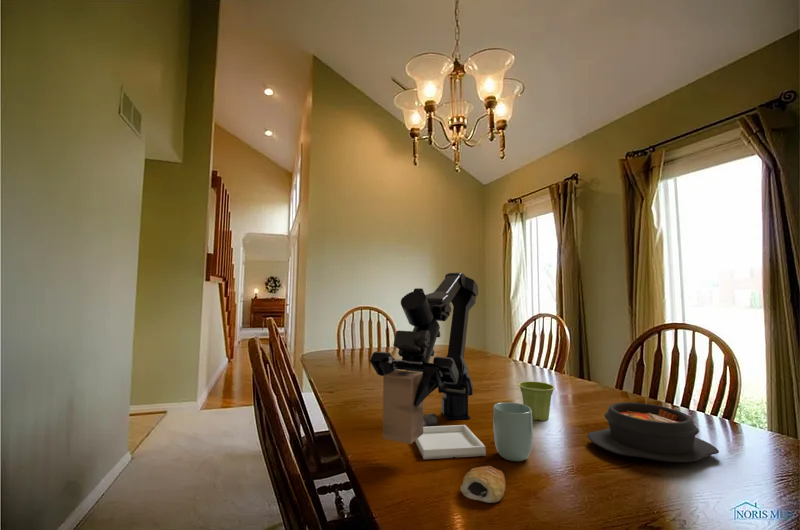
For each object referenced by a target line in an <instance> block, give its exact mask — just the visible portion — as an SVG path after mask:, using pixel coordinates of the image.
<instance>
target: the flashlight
mask: <svg viewBox="0 0 800 530" xmlns="http://www.w3.org/2000/svg"><path fill="white" fill-rule="evenodd" d="M437 424H438V418H437V415H436V414H435V413H434V412H433V413H427V414H423V427H428V426H437Z"/></svg>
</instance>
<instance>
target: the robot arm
mask: <svg viewBox="0 0 800 530" xmlns="http://www.w3.org/2000/svg"><path fill="white" fill-rule="evenodd" d="M478 295H479V286H478V283H476V280H474V279H472V278H470V277H468V276H466V275H465V274H464V273H462V272H447V273H446V274H445V277H444V279H443V280H442V282H441V283H440V284H439V285H438V286H437V288H436V289H435V290H434V292H431V293H428V294H425V291H424V289H423V288H421V287H420V288H418V287H417V288H414V289H413V291H411V292H409V293H406V294H405V295H404V296H403V297H402V298H401V299H400V305H401V308H402V310H403V313H404V314H405V317H406V320H407V322H408V324H409V325H410V326H412V327H413V329H412V330H411V331H410V330H396V331H395V335H394V340H393V345H392V346H393V347H394V348H397V349H398V352H397V353H398V356H399V357H401V359H397V358H396V359H395V358H394V357H393V355H392V354H391V352H389V351H387V352H386V351H373V352H372V354H371V355H370V359H369V362H370V364H371V366H372V368H373V370H374V371H375V372H376V374H377V375H378V376H381V377H383V376H384V375H386V374H389V373H391V372H394V371H396V370H401V371H410V372H419V373H423V377H422V380H421V383H420V385H419V388H418V391H417V394H416V396H415V401H414V405H415V407H417V406H418V405H419V404H420V403H421V402H422V401H423V402H424V400H425V399H426V398H428V397H429V395H430V394H431V393H433V392H434V391H435V390H436V389H438V393H439V394H441V393H442V394H443V395H442V396H443V397H441V413H442V414H443V416H444V417H445V418H446V419H447V420H464V419H466V420H467V419H469V420H470V419H471V416H470V415H469V396H473V395H474V385H473V381H472V379H471V376H470V374H469V367H468V365H467V363H466V361H465V354H466V353H465V352H466V343H467V333H468V322H469V312H470V310H471V309H472V307H474V306H475V304H476V300H477V297H478ZM451 313H452V315H451ZM450 315H451V323H450V324H451V326H450V332H449V338H448V349H447V354H446V356H445V357H444V356H435V357H434V355H435V353H436V352H435V350H434V348H435V344H436V341H437V339H438V338H441V332H440V329H441V327H440V326H441V325H440V323H439V322H447V320H448V318H449V317H450ZM432 357H434V358H433V361H432V362H430V361H431V358H432Z"/></svg>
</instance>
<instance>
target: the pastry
mask: <svg viewBox="0 0 800 530" xmlns="http://www.w3.org/2000/svg"><path fill="white" fill-rule="evenodd" d="M505 477H506V476H505V473H504V472H503V471H502V470H500V469H498V468H495V467H493V466H491V465H485V466H479V467H472V468H471V469H469V471H467V472H466V473H465V474H464V476H463V479H462V484H461V485H460V492H461V493H462V495H463V497H466V498H467V499H470V500H475V501H480V502H483V503H487V504H491V503H492V504H496V503H498V502H501V500H502V499H503V498H504V494H505V491H506V487H507V486H506V478H505Z"/></svg>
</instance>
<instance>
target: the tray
mask: <svg viewBox="0 0 800 530" xmlns="http://www.w3.org/2000/svg"><path fill="white" fill-rule="evenodd" d="M414 442H415V444H416V446H417V449H418V451H419V453H420V454H421V457H422V459H423V460H433V459H434V460H436V459H450V458H451V459H452V458H453V457H455V458H467V457H468V458H471V457H485V456H486V455H487V453H486V452H487V451H486V450H487V449H486V446H485V445H484V443H483V442H482V441H481V440H480V439H479V438H478V437H477V436H476V434H474V433H473V431H472V430H471V429H470V428H469V427H468V426H467V425H466V424H457V425H454V424H452V425H432V426H426V427H423V434H422V435H421V436H420V437H419V438H417V439H416V440H415V441H414ZM453 459H454V458H453Z"/></svg>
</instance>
